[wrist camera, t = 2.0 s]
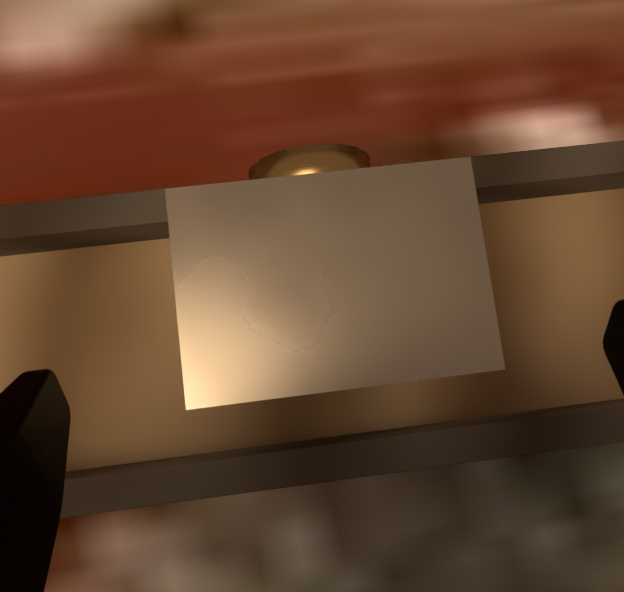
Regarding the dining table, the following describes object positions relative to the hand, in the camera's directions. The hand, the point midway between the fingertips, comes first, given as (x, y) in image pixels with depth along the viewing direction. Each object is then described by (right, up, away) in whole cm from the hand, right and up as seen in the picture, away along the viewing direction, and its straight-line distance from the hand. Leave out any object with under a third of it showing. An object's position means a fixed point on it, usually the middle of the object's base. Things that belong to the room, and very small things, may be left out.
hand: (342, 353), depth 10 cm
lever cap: (-1, 0, +10) cm, 10 cm away
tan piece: (-1, 0, +12) cm, 12 cm away
